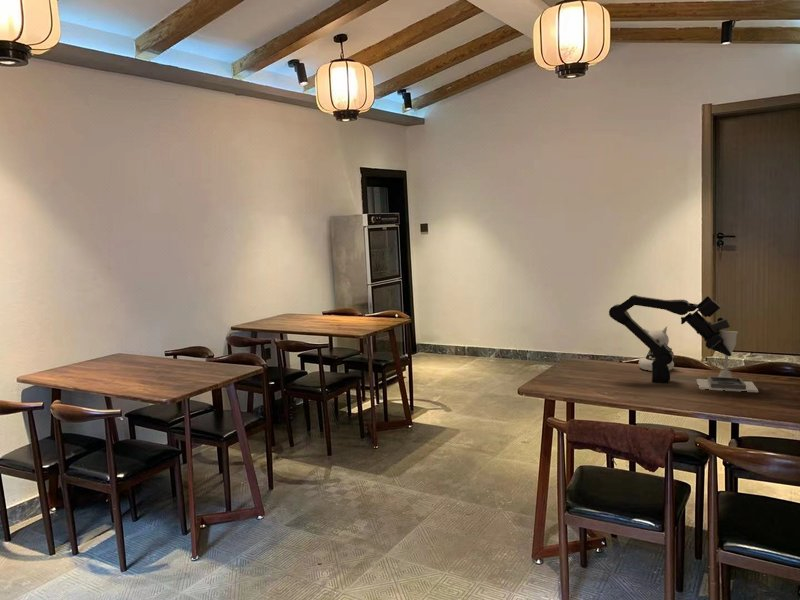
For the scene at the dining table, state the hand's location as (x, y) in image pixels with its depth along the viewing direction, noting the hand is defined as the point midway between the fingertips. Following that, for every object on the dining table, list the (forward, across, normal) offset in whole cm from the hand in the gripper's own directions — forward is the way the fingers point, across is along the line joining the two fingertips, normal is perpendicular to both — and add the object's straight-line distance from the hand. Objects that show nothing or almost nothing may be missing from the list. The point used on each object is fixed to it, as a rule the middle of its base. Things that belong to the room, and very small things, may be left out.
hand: (730, 354), depth 235 cm
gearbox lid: (+8, 0, +10) cm, 13 cm away
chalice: (+5, -1, +8) cm, 9 cm away
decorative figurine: (-11, +23, +30) cm, 39 cm away
